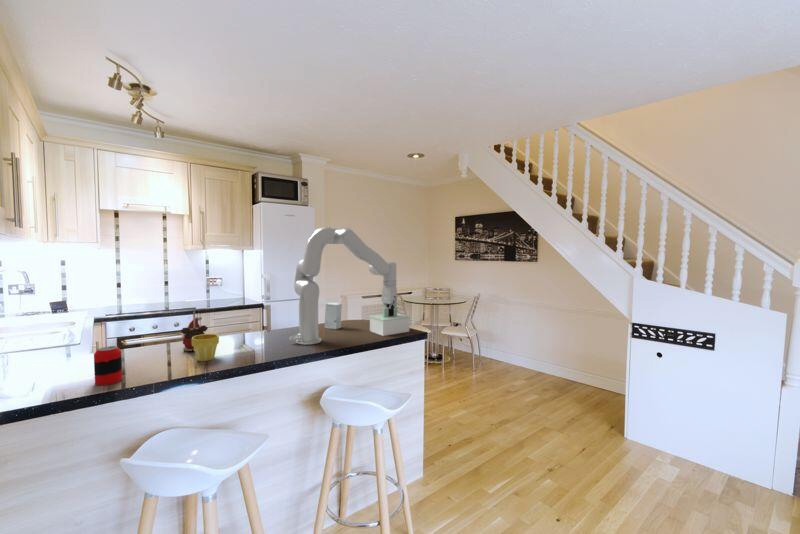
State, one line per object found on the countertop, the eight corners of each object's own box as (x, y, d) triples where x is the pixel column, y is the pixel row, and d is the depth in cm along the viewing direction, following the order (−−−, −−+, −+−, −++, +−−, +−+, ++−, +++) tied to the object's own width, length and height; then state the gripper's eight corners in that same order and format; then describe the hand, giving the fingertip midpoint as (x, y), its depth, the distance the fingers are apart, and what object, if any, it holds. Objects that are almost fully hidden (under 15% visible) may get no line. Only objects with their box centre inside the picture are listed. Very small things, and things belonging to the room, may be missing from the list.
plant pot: (224, 356, 159) (224, 334, 158) (206, 363, 149) (205, 340, 149) (205, 354, 162) (204, 332, 161) (186, 361, 152) (185, 338, 151)
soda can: (127, 377, 133) (126, 345, 132) (111, 385, 125) (110, 351, 124) (106, 377, 132) (105, 345, 132) (89, 385, 125) (87, 351, 124)
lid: (383, 323, 197) (383, 311, 197) (369, 318, 209) (369, 307, 209) (410, 319, 208) (410, 307, 208) (395, 315, 220) (395, 304, 219)
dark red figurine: (183, 353, 163) (182, 314, 162) (180, 349, 170) (179, 311, 169) (209, 349, 169) (208, 311, 168) (205, 345, 177) (204, 308, 176)
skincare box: (324, 328, 215) (324, 303, 214) (329, 326, 221) (329, 302, 220) (336, 329, 212) (336, 304, 211) (341, 327, 218) (341, 302, 217)
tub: (383, 335, 198) (383, 321, 197) (369, 330, 209) (369, 317, 209) (409, 331, 208) (409, 317, 208) (395, 327, 220) (395, 314, 219)
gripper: (376, 282, 212) (376, 313, 213) (392, 285, 199) (392, 318, 200) (387, 282, 216) (387, 312, 217) (403, 284, 203) (403, 316, 204)
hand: (389, 315), depth 208 cm, fingers closed on lid, 2 cm apart
